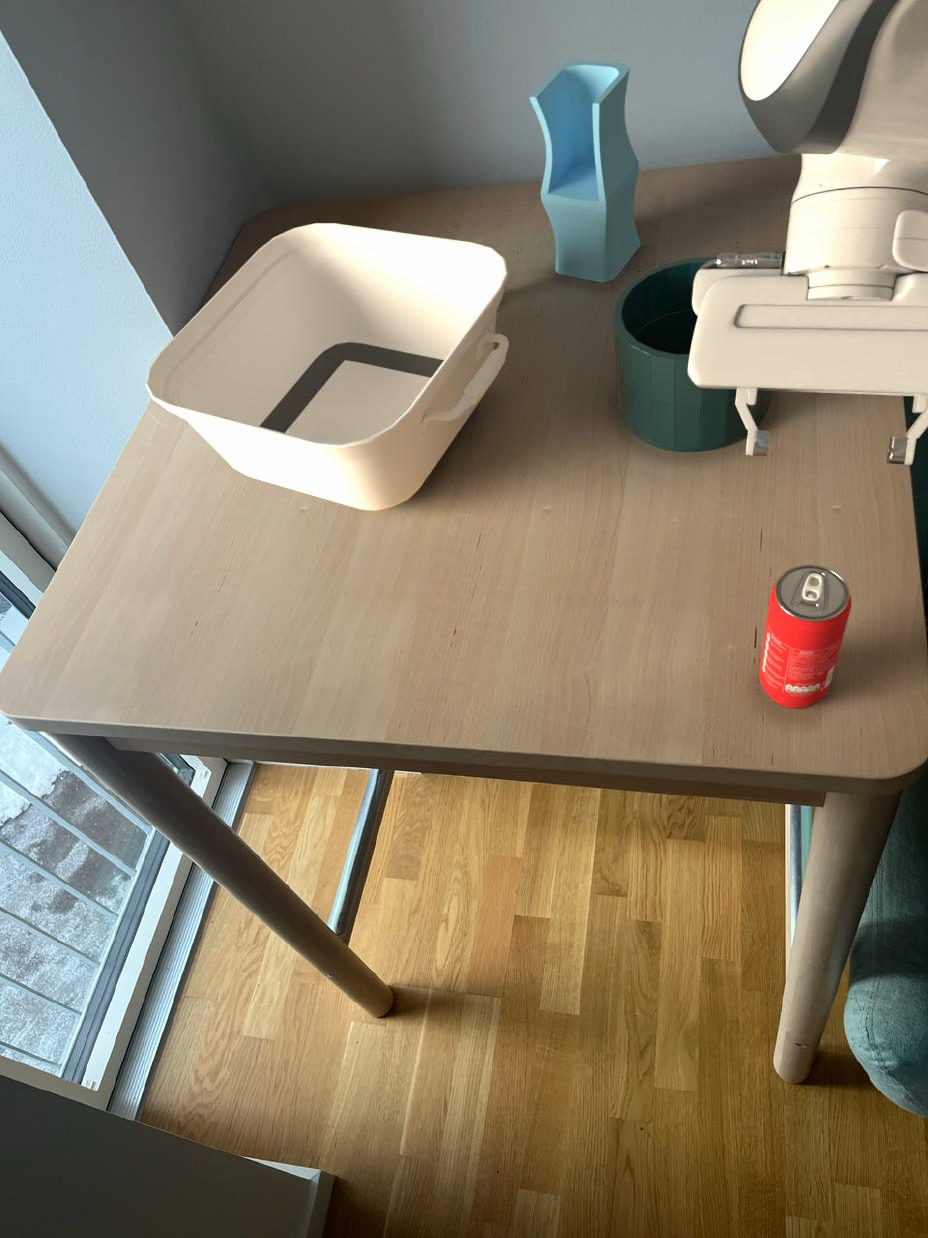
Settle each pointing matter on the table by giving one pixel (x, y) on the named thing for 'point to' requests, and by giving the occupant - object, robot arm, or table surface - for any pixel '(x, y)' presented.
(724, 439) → the enamel pot
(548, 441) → the table surface
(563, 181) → the vase
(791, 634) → the beverage can
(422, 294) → the white storage bin
